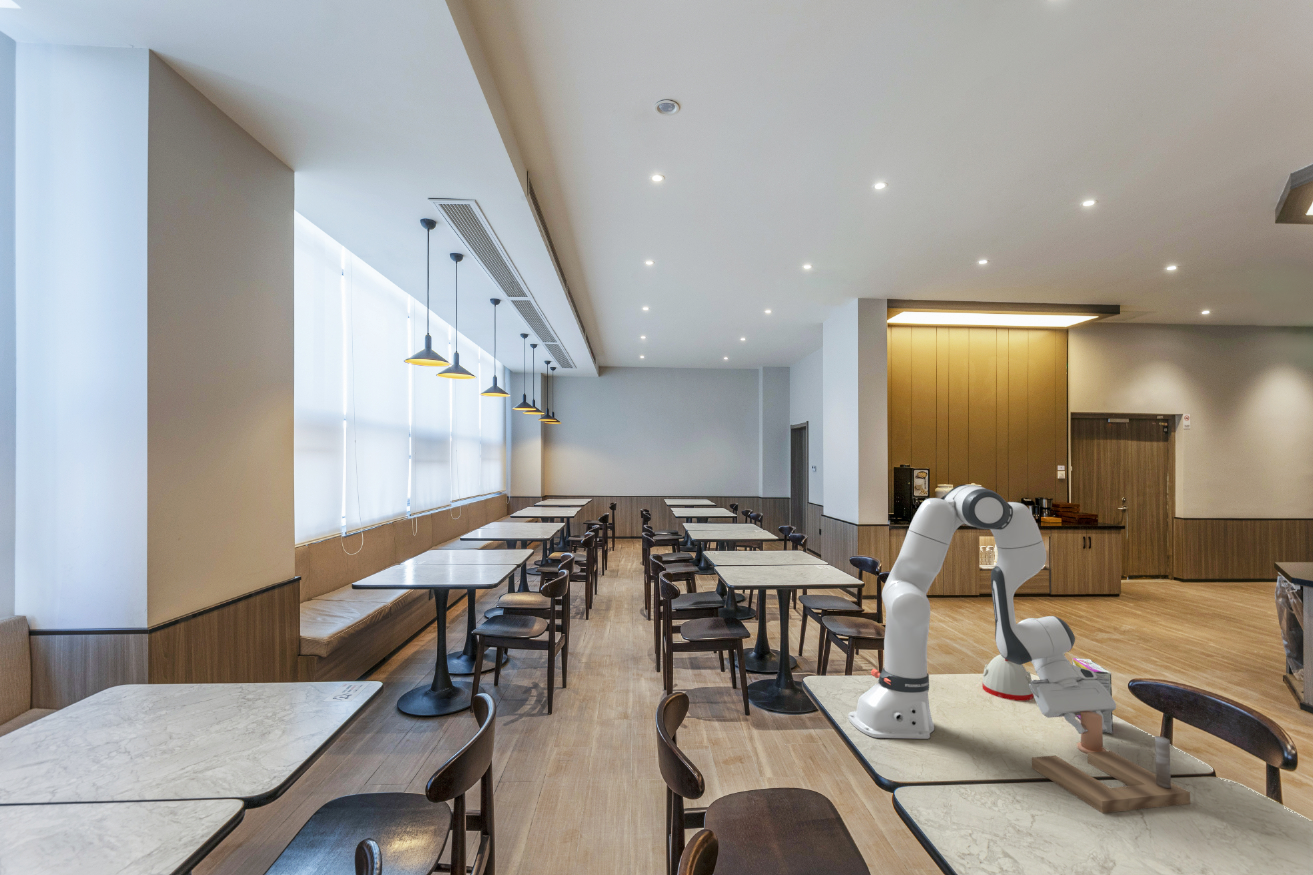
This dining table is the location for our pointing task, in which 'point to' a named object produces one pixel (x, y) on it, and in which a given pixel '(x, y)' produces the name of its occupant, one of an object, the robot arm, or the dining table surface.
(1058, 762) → the wooden frame with post
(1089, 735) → the tan cylinder
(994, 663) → the kitchen timer
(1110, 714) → the candy bar box
